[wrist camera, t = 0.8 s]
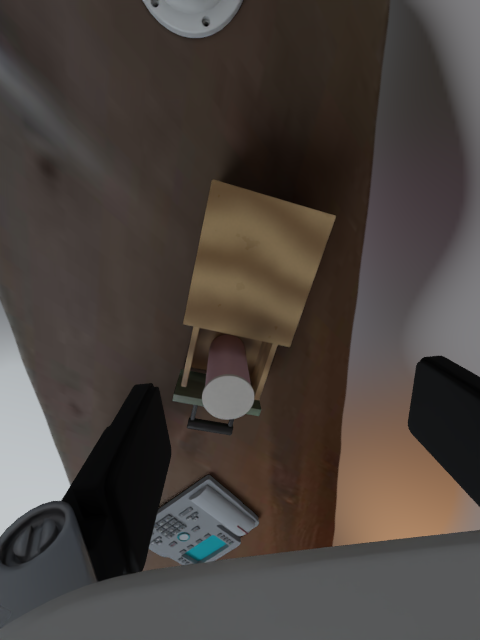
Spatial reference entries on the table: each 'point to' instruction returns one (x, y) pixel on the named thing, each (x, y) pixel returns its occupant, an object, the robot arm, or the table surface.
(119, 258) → the table surface
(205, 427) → the drawer
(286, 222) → the wood-grain box
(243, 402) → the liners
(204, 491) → the office telephone
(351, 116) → the table surface
